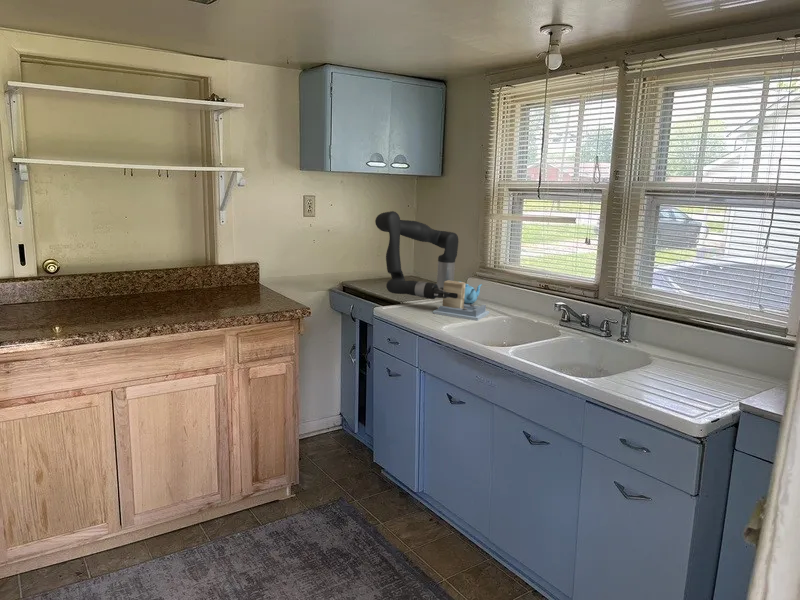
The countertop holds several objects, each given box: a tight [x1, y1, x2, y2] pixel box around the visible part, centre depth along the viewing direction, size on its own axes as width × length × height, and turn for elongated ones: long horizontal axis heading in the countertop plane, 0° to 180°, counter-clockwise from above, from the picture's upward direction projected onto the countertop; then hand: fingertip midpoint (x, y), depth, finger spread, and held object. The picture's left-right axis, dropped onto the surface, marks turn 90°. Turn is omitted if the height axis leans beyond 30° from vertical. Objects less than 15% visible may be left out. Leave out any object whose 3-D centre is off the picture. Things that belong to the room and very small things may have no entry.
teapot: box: [459, 280, 483, 305], centre depth 296 cm, size 13×13×10 cm
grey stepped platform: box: [432, 303, 490, 322], centre depth 276 cm, size 16×22×4 cm
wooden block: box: [441, 280, 467, 309], centre depth 276 cm, size 4×9×13 cm, turn 63°
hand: (459, 295), depth 275 cm, fingers closed on wooden block, 4 cm apart
